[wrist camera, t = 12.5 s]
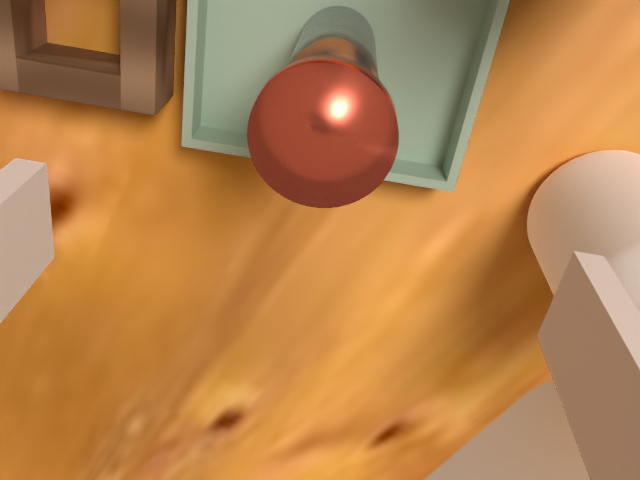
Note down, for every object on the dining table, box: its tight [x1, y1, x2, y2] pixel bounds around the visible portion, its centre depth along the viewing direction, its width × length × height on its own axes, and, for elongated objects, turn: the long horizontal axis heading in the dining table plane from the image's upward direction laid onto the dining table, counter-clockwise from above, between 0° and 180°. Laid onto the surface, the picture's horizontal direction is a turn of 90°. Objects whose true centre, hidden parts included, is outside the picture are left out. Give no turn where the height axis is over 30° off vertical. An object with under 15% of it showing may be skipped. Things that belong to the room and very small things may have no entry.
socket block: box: [0, 0, 176, 115], centre depth 35 cm, size 10×10×4 cm
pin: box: [247, 6, 399, 208], centre depth 30 cm, size 6×6×16 cm
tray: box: [181, 0, 510, 192], centre depth 36 cm, size 14×17×3 cm
